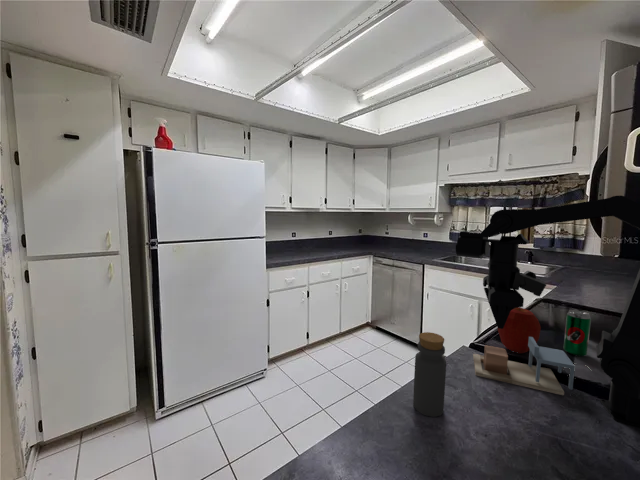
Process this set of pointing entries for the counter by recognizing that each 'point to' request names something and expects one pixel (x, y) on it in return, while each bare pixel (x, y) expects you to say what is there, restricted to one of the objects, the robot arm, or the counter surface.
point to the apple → (519, 330)
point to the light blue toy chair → (550, 360)
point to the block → (495, 359)
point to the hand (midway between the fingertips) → (498, 322)
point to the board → (520, 375)
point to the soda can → (577, 332)
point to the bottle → (430, 375)
